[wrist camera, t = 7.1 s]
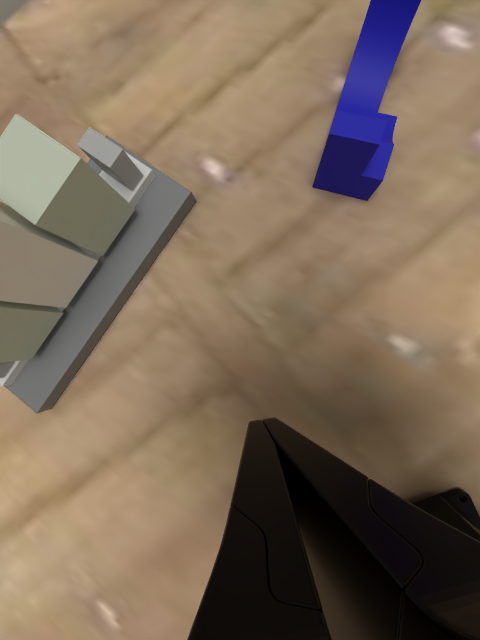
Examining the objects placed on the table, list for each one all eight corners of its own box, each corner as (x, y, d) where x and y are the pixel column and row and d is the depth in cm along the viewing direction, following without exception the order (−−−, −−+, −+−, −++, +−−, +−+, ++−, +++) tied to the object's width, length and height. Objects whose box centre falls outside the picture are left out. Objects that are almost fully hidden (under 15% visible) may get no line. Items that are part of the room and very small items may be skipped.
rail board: (196, 200, 22) (154, 123, 14) (51, 408, 23) (-72, 451, 14) (116, 147, 23) (33, 46, 15) (-20, 347, 24) (-174, 356, 15)
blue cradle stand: (366, 201, 21) (406, 150, 15) (311, 188, 21) (329, 133, 16) (409, 62, 21) (465, -44, 15) (354, 52, 22) (388, -55, 16)
